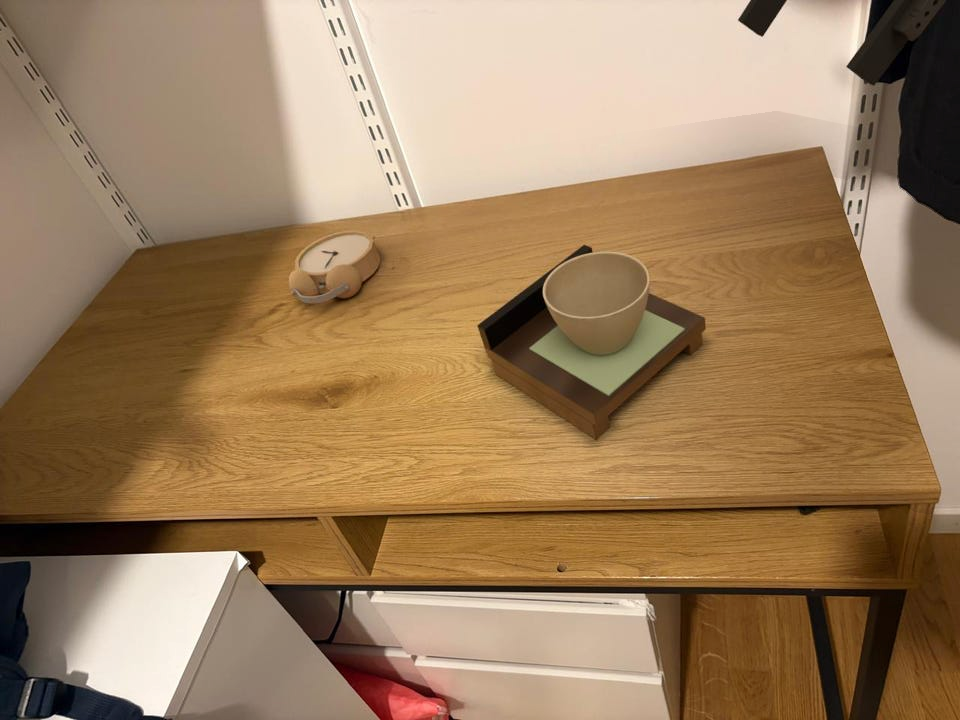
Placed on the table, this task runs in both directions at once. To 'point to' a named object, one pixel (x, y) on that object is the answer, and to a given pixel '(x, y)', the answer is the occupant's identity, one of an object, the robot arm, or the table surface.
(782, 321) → the table surface
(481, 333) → the tray
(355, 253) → the alarm clock
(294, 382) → the table surface
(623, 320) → the flower pot
